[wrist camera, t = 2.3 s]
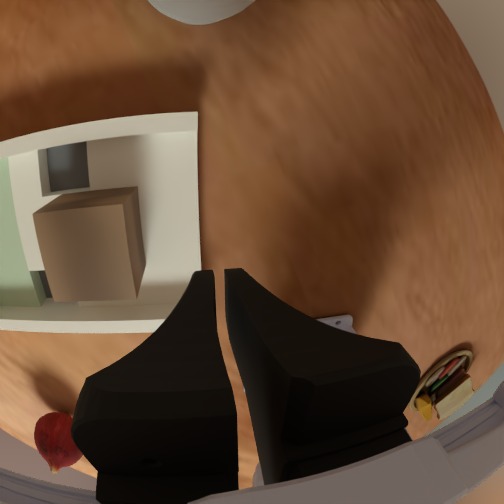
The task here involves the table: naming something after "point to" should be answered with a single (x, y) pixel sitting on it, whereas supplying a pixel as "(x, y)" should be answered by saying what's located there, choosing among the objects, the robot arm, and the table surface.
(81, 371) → the table surface
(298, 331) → the robot arm
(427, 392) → the toy sandwich meal
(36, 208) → the tray
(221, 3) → the cup
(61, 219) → the block
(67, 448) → the onion
